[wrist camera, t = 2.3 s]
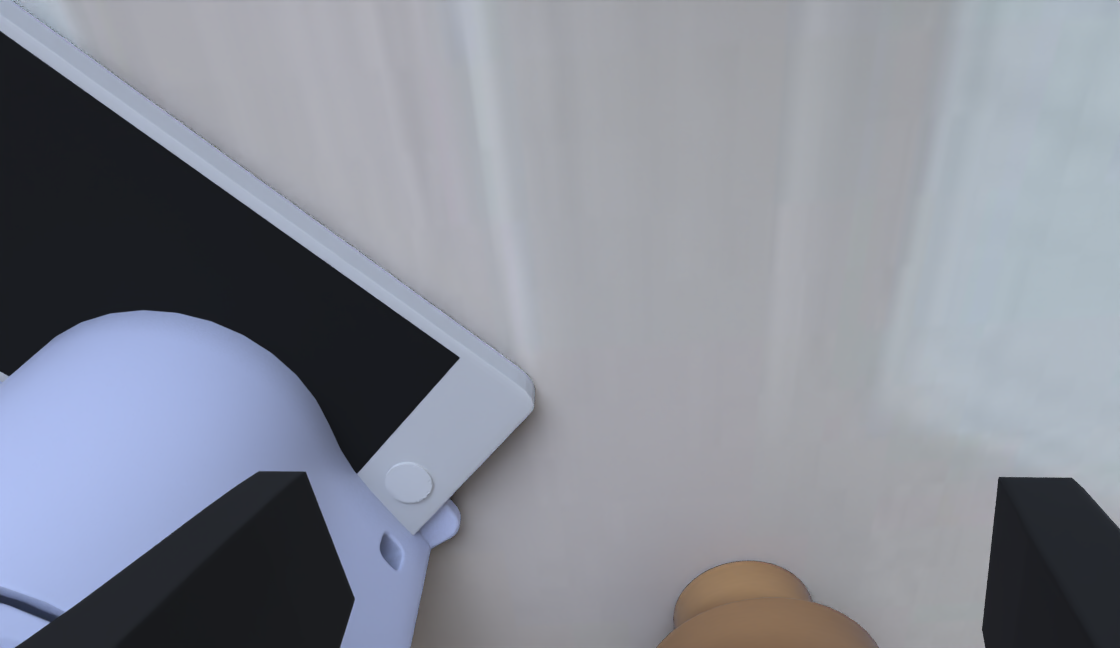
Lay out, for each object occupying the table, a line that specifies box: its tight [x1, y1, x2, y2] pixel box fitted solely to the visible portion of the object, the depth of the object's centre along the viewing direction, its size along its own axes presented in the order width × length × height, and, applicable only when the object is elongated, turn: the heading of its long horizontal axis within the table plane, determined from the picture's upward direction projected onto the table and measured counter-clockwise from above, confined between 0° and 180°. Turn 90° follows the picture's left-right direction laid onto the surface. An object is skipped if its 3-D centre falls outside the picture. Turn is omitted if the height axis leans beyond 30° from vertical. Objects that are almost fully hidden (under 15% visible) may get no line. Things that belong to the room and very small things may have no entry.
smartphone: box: [0, 0, 535, 535], centre depth 19 cm, size 7×15×1 cm, turn 50°
